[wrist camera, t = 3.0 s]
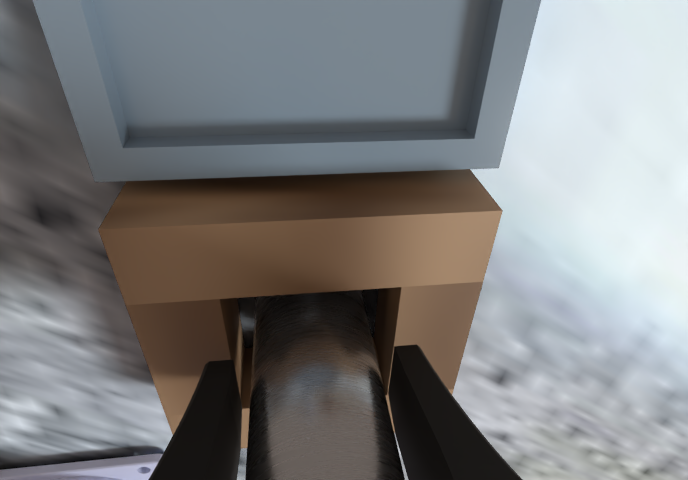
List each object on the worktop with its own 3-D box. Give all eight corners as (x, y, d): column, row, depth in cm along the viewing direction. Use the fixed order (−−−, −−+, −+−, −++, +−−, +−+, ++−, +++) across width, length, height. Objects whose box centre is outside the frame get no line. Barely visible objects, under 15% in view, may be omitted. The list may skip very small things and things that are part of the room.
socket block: (191, 392, 16) (180, 454, 14) (129, 177, 11) (98, 229, 9) (424, 371, 17) (443, 427, 16) (467, 165, 12) (502, 211, 10)
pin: (247, 346, 15) (221, 721, 8) (232, 244, 13) (172, 661, 6) (371, 336, 16) (450, 682, 9) (380, 237, 13) (502, 609, 6)
